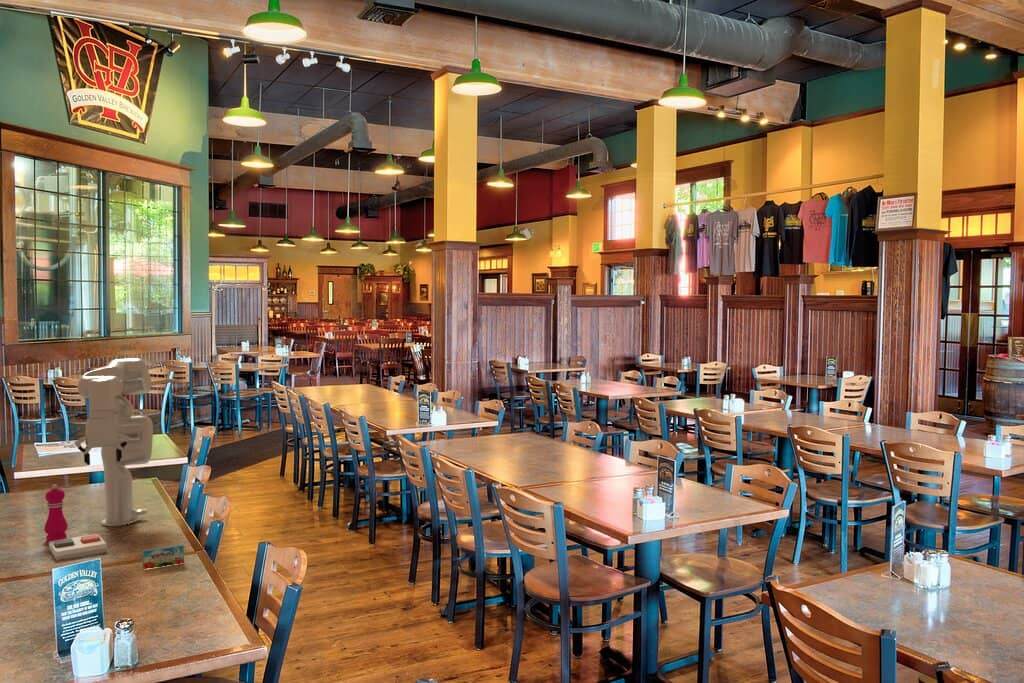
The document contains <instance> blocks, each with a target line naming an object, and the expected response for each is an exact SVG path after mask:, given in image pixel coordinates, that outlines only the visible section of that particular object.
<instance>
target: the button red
mask: <svg viewBox="0 0 1024 683" xmlns="http://www.w3.org/2000/svg"><path fill="white" fill-rule="evenodd" d="M97 534H98V533H95V535H93V534H88V535H89V536H86V535H82V536H83V537H81V542H82V543H83V544H85V543H91V542H97V541H100V537H101V536H100V535H99V534H98V535H99V536H100V537H99V536H98V535H97Z"/></svg>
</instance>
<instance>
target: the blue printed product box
mask: <svg viewBox="0 0 1024 683" xmlns="http://www.w3.org/2000/svg"><path fill="white" fill-rule="evenodd" d="M184 550H185V548H184V545H183V544H176V545H171V546H170V545H169V546H163V547H157V548H150V549H143V550H142V553H141V554H142V570H143V569H147V568H154V567H162V566H167V565H174V564H180V563H184V564H185V553H184V552H185V551H184Z"/></svg>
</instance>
